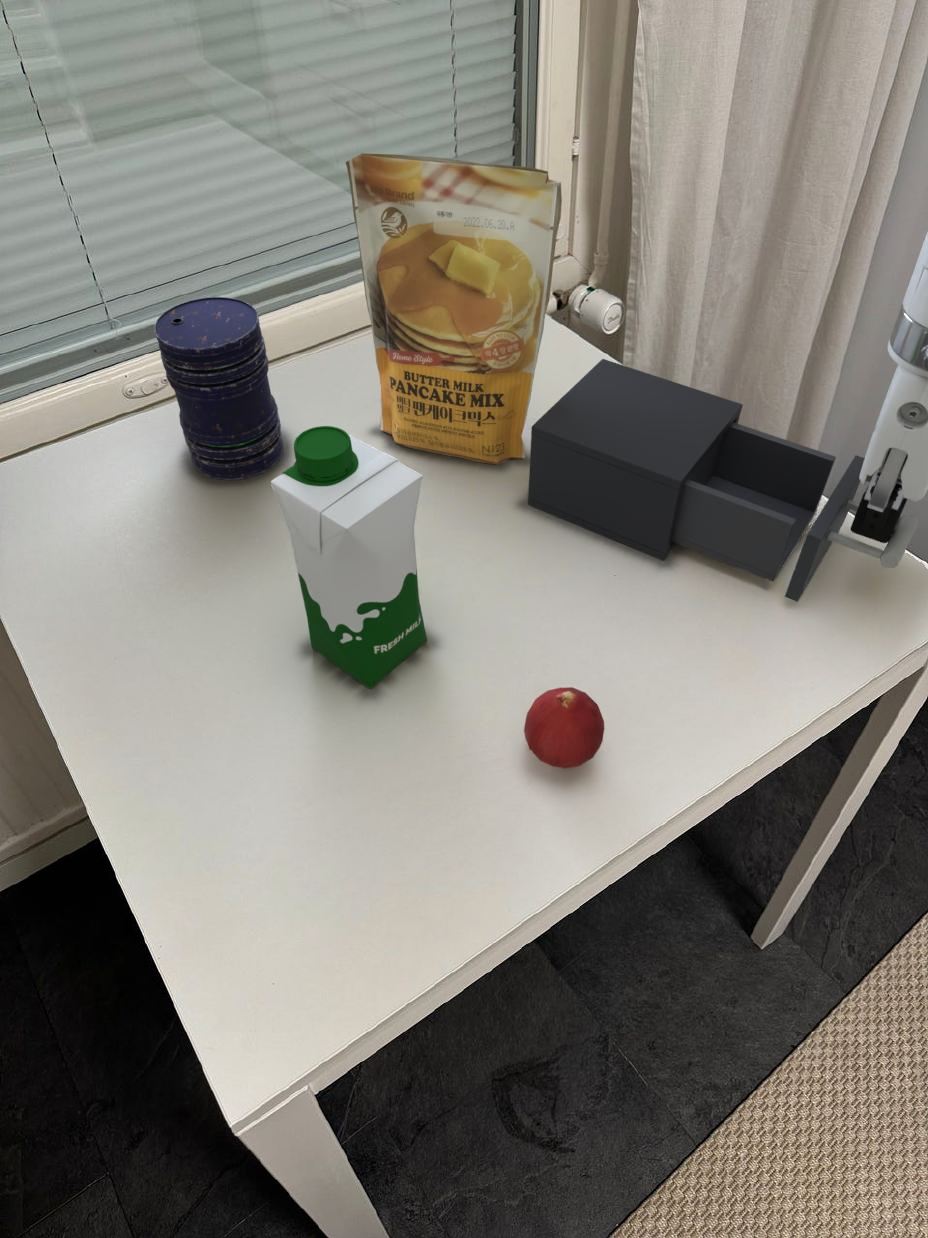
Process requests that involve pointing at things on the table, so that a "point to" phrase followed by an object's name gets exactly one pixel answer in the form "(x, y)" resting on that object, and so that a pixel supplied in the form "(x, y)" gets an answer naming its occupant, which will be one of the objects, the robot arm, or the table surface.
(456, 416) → the pancake mix bag
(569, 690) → the onion
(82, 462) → the table surface
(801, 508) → the drawer
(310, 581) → the milk carton
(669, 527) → the cabinet
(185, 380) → the navy blue cylinder
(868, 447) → the robot arm
